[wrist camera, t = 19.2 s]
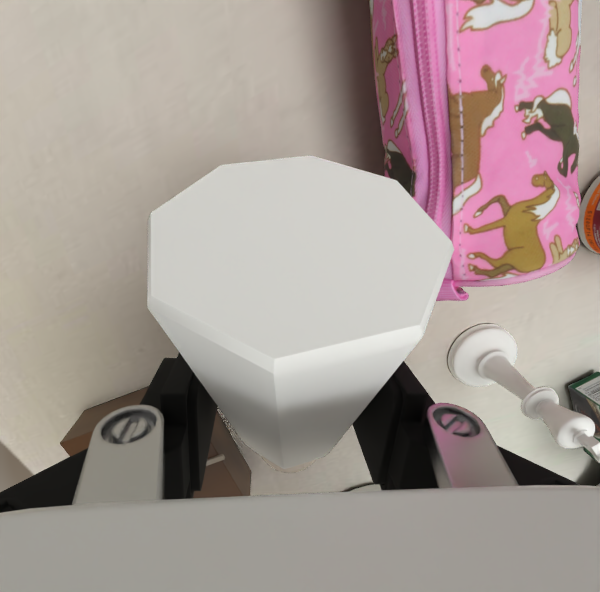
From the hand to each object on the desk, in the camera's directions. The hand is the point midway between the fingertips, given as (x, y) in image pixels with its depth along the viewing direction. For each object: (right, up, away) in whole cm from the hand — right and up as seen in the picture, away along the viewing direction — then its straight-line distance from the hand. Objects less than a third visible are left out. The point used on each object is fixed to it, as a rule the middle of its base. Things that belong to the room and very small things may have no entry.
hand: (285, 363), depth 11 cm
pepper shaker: (0, +4, -6) cm, 7 cm away
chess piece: (+14, -2, +13) cm, 19 cm away
